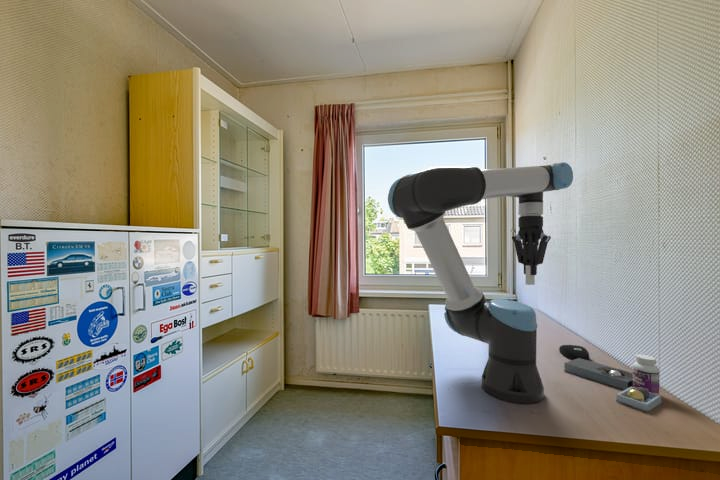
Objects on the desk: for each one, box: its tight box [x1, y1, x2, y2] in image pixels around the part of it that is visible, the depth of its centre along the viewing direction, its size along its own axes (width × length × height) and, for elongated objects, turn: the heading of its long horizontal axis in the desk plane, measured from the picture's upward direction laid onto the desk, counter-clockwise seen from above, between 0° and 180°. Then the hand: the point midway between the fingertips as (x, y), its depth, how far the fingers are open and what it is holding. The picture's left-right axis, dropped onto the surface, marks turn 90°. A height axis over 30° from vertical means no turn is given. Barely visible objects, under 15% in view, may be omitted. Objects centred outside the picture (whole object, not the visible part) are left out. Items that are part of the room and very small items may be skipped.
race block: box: [564, 358, 633, 391], centre depth 95 cm, size 9×16×2 cm, turn 31°
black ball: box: [636, 387, 649, 399], centre depth 81 cm, size 3×3×3 cm
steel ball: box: [608, 370, 622, 376], centre depth 92 cm, size 3×3×3 cm
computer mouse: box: [558, 343, 590, 361], centre depth 113 cm, size 8×12×4 cm, turn 167°
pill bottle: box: [632, 354, 660, 395], centre depth 85 cm, size 5×5×10 cm
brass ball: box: [627, 389, 644, 402], centre depth 79 cm, size 3×3×3 cm
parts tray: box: [616, 387, 662, 413], centre depth 80 cm, size 9×6×2 cm, turn 121°
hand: (530, 284), depth 110 cm, fingers closed
